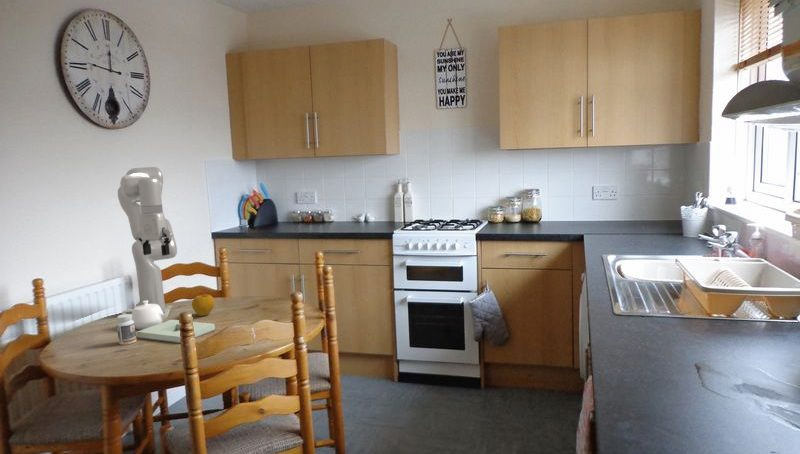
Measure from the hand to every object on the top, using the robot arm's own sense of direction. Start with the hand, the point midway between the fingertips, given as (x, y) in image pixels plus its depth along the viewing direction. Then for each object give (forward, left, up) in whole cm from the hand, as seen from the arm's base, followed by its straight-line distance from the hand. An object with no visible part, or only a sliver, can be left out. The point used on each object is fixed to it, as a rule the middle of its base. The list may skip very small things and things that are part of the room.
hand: (156, 254), depth 220 cm
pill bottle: (+4, -20, -28) cm, 35 cm away
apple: (+5, +16, -28) cm, 33 cm away
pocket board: (+14, -7, -28) cm, 32 cm away
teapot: (-6, -2, -28) cm, 29 cm away
